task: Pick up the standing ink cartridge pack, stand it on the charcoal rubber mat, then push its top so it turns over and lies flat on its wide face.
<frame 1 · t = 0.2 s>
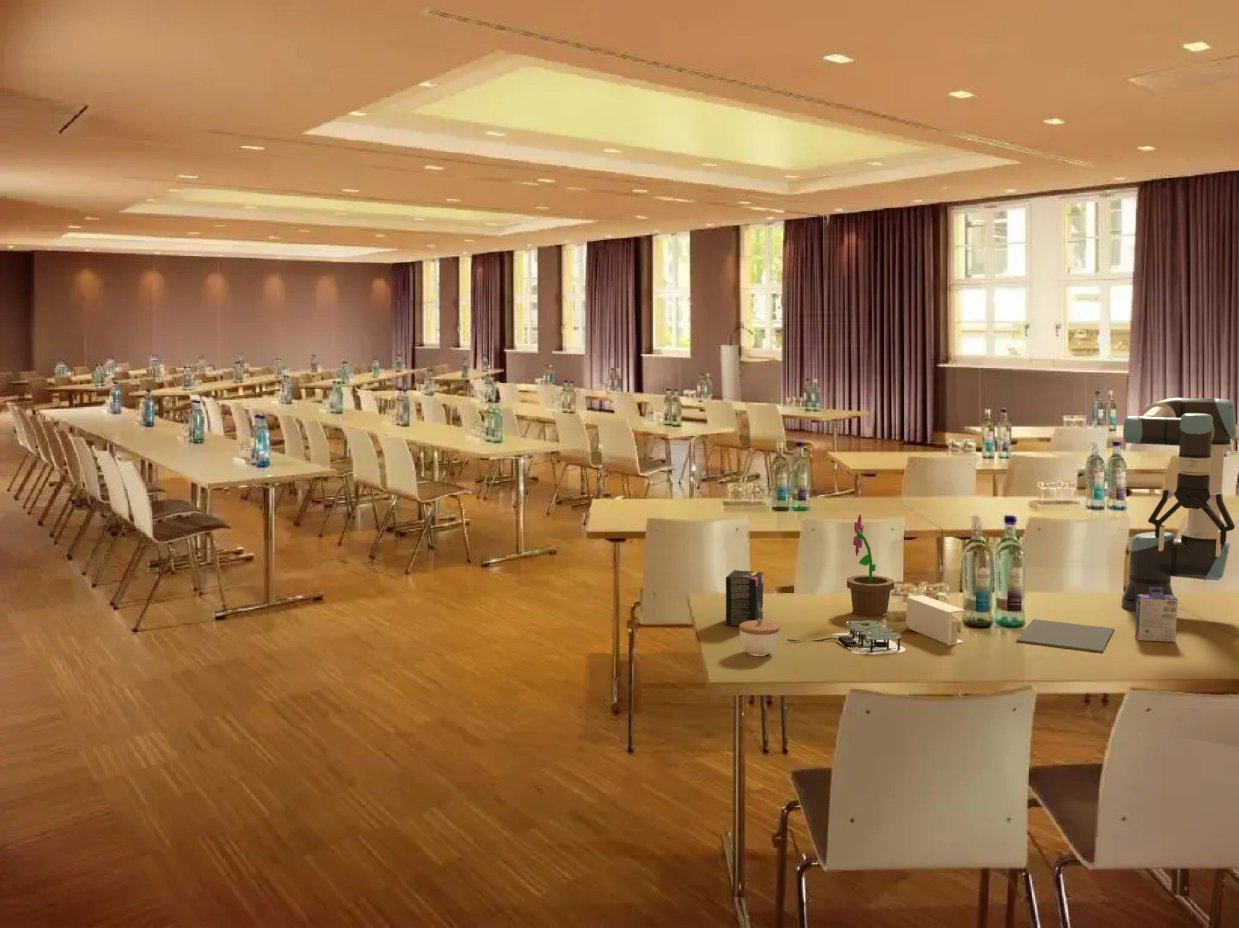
hand: (1189, 553, 301), 27 cm above the table, tool pointing down, fingers open, 13 cm apart
cigarette display: (933, 636, 324), on the table
neon sign: (843, 646, 315), on the table
mat: (1066, 636, 321), on the table
flowerpot: (869, 613, 348), on the table
ink cartridge box: (1154, 639, 318), on the table
tampon box: (744, 623, 338), on the table
lidded jar: (759, 654, 307), on the table
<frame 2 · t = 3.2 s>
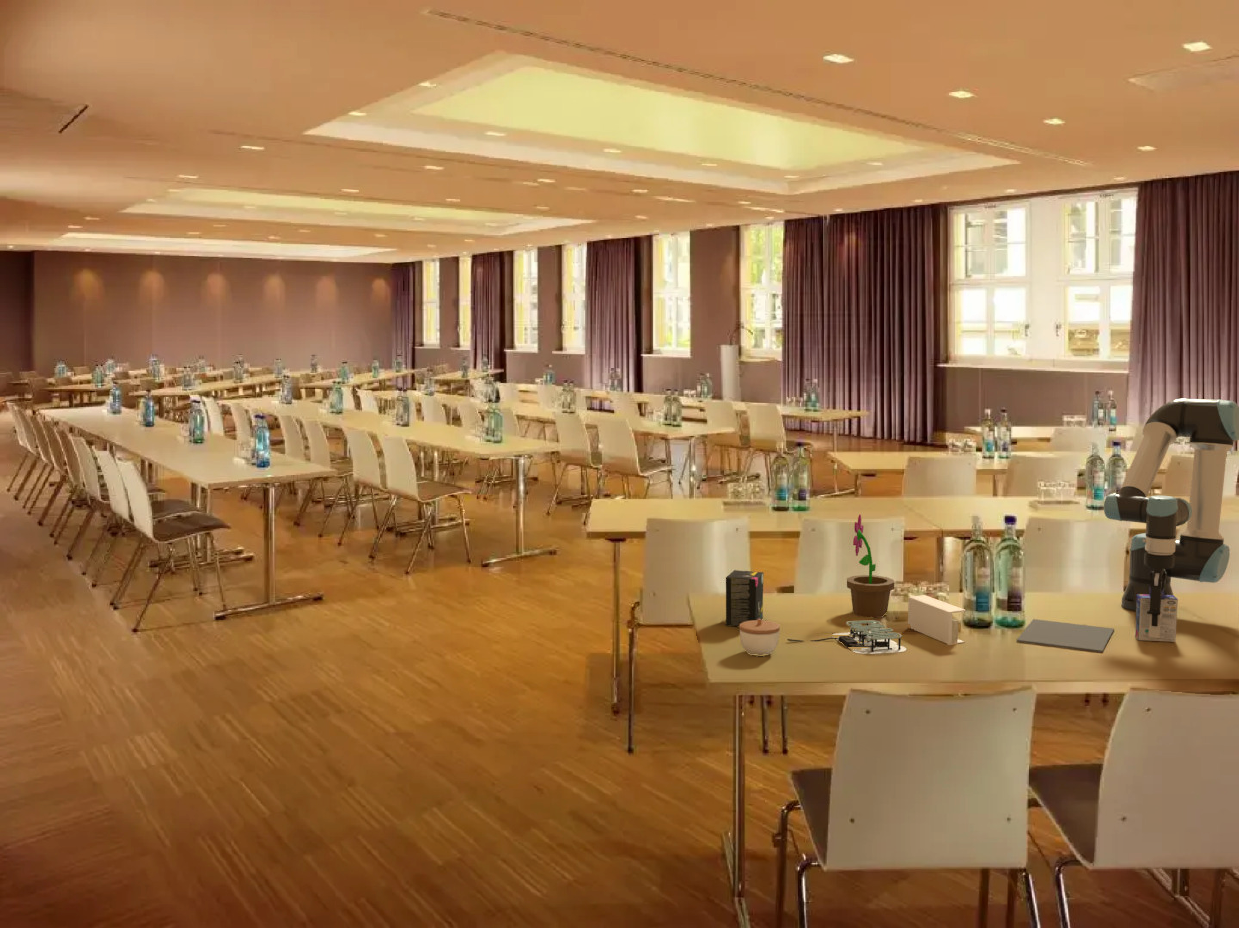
hand: (1155, 633, 318), 2 cm above the table, tool pointing down, fingers closed on ink cartridge box, 7 cm apart
ink cartridge box: (1154, 639, 318), on the table, touching gripper
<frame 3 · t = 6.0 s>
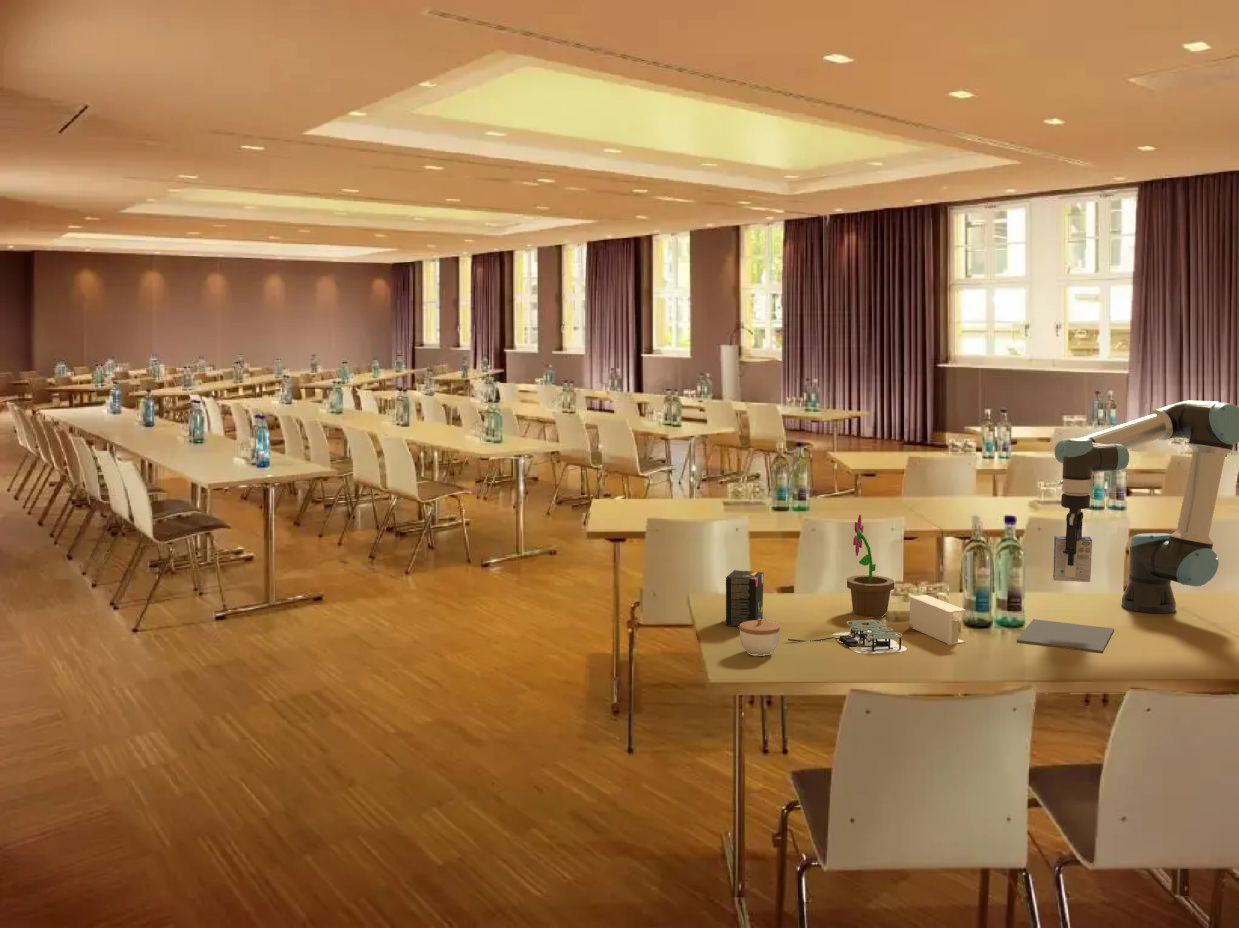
hand: (1072, 573, 325), 17 cm above the table, tool pointing down, fingers closed on ink cartridge box, 6 cm apart
ink cartridge box: (1071, 580, 325), point 15 cm above the table, touching gripper
when the fingers open (3 cm above the table, at t = 8.7 s): ink cartridge box stays where it is, resting on mat.
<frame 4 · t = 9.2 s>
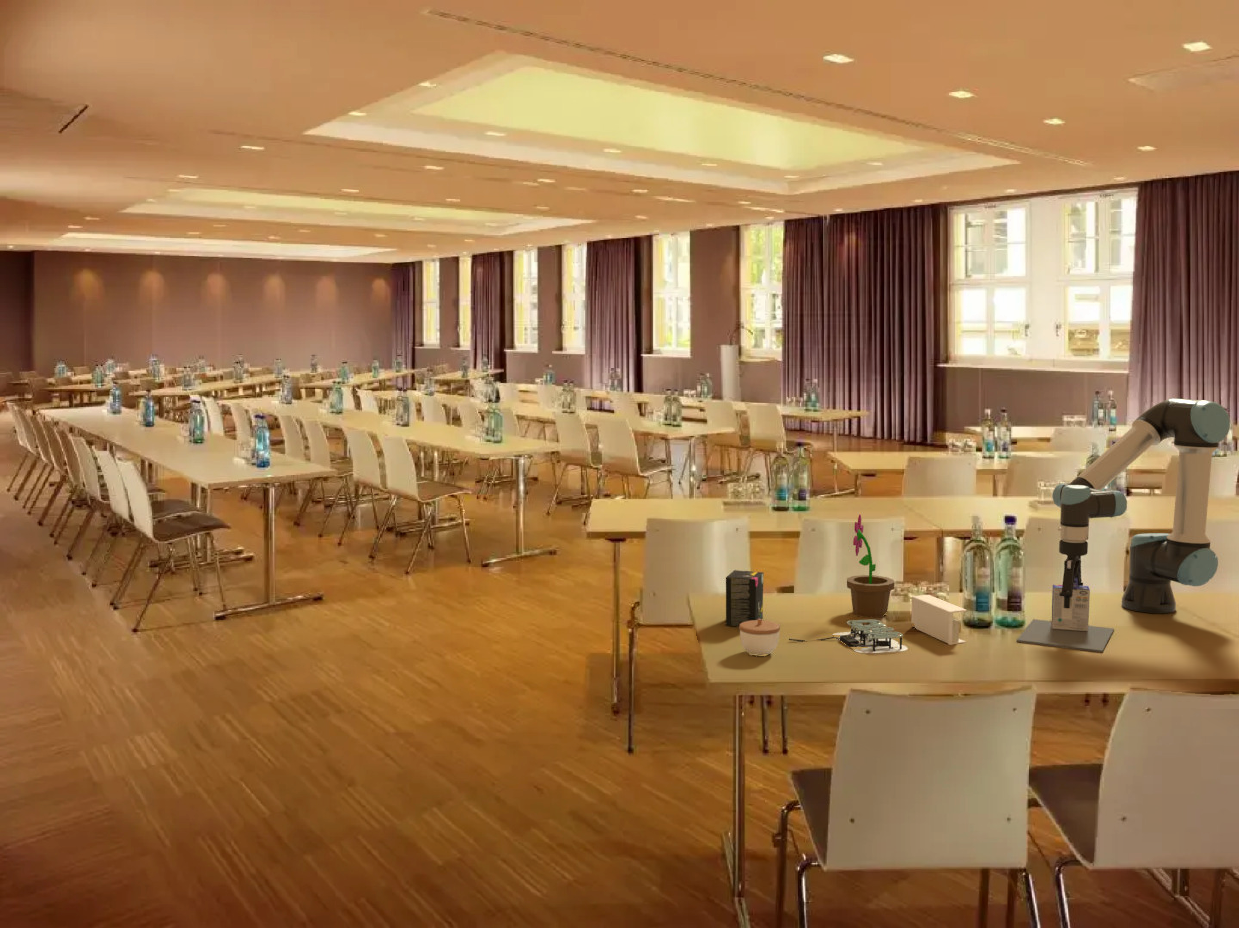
hand: (1070, 613, 326), 5 cm above the table, tool pointing down, fingers open, 13 cm apart
ink cartridge box: (1069, 629, 327), resting on mat
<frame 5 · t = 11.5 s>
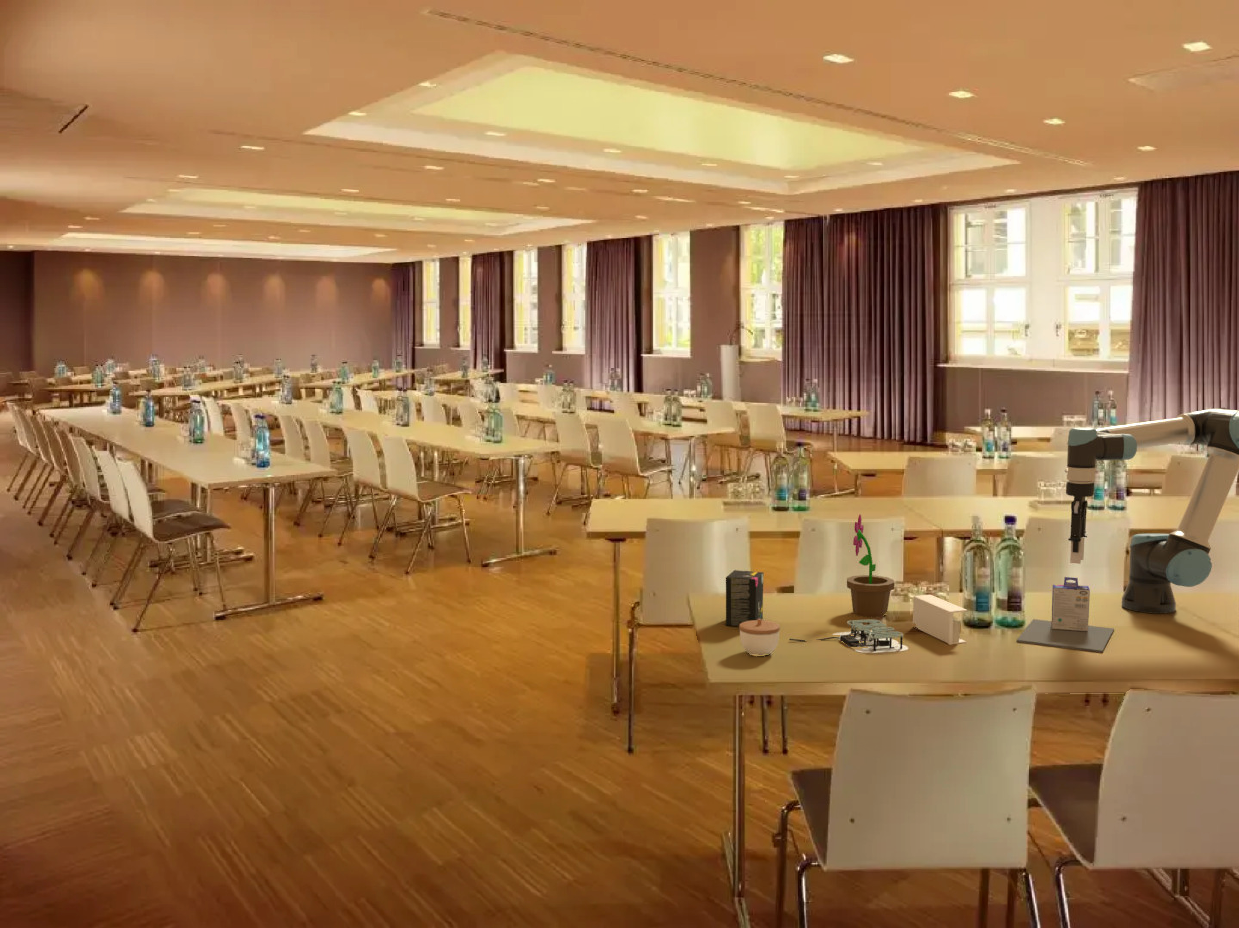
hand: (1076, 561, 332), 19 cm above the table, tool pointing down, fingers open, 5 cm apart
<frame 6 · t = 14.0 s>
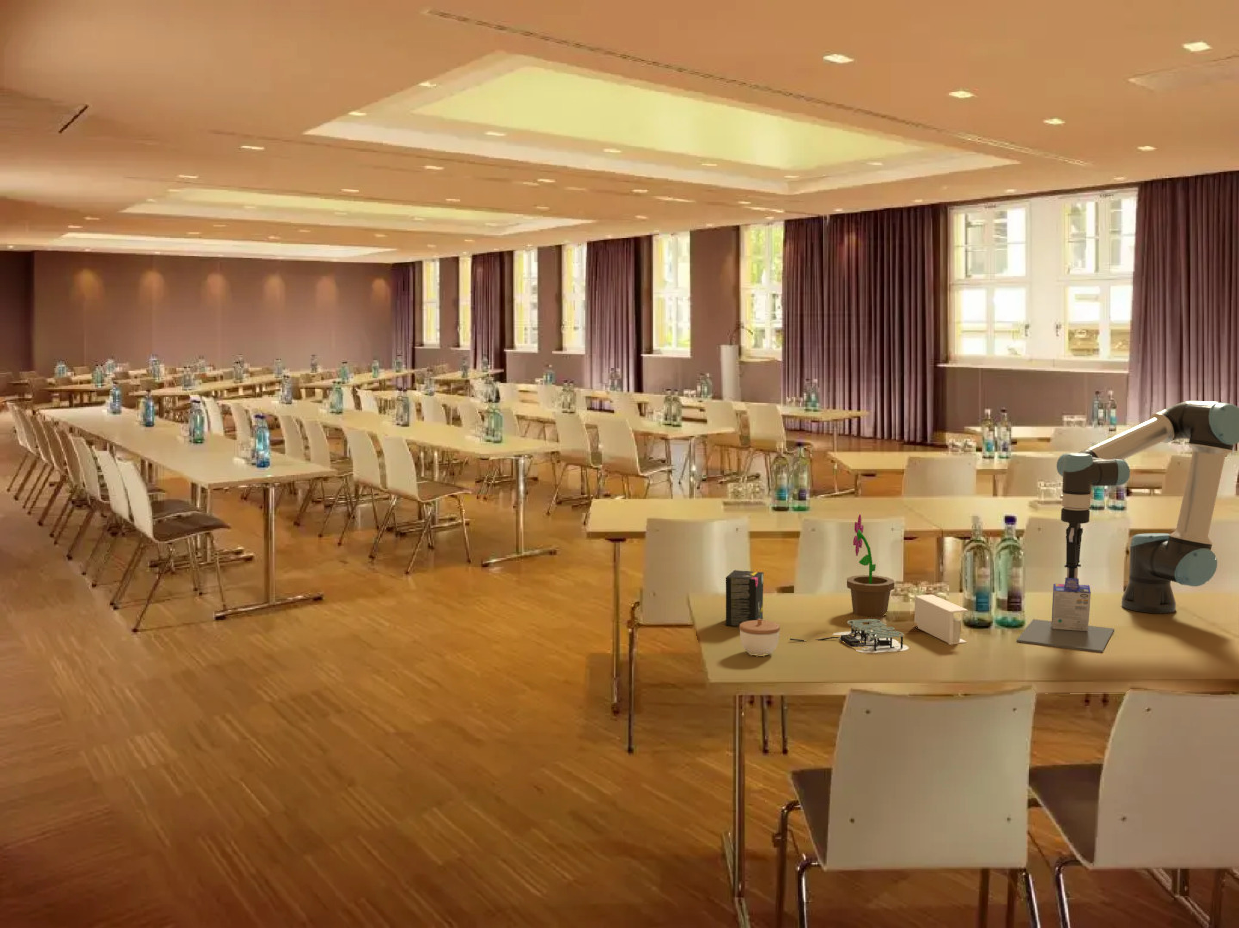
hand: (1071, 589, 327), 12 cm above the table, tool pointing down, fingers closed
ink cartridge box: (1069, 626, 327), point 1 cm above the table, touching gripper, mat
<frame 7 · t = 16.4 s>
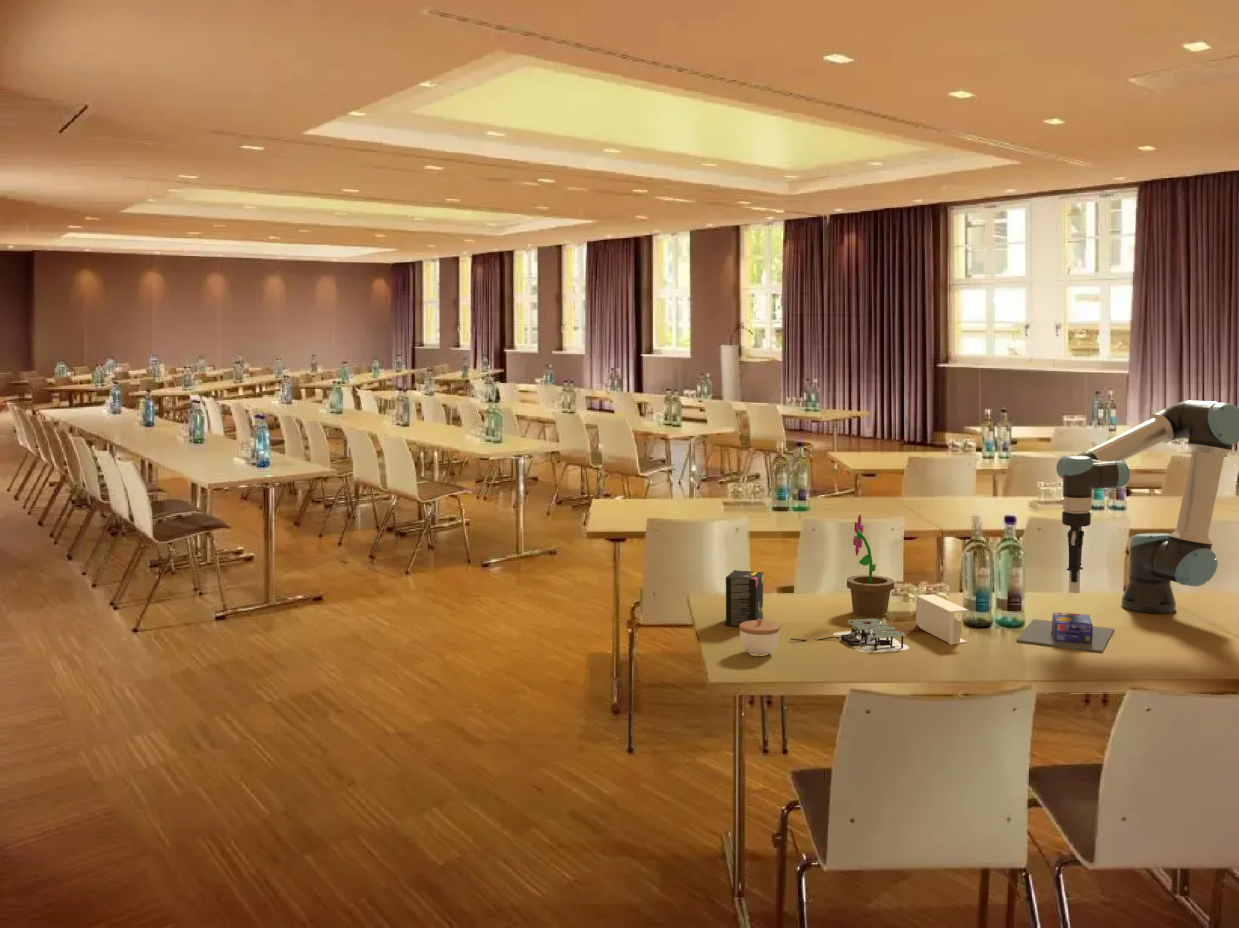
hand: (1074, 592, 327), 11 cm above the table, tool pointing down, fingers closed
ink cartridge box: (1070, 621, 324), point 3 cm above the table, touching mat
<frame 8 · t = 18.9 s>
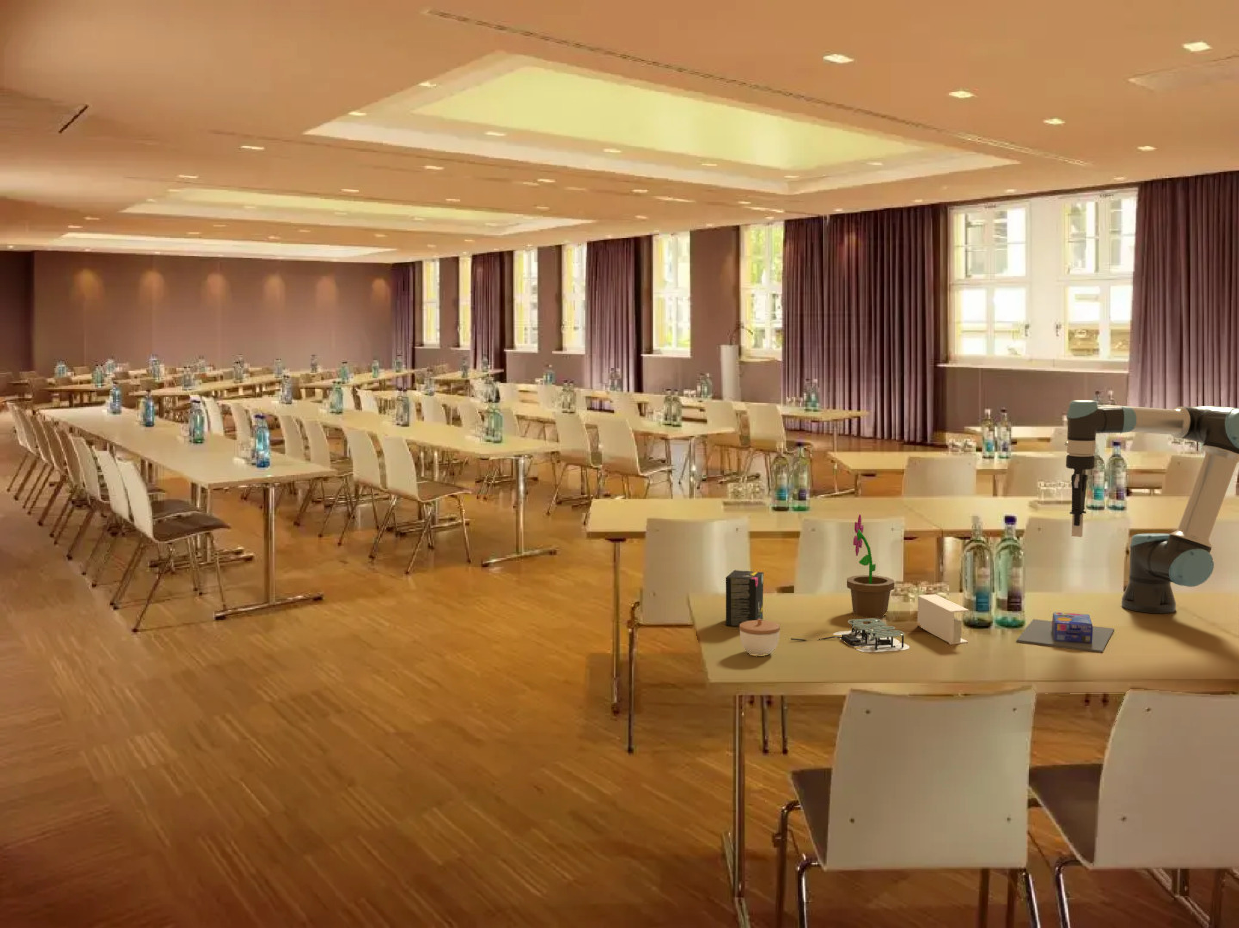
hand: (1076, 536, 329), 26 cm above the table, tool pointing down, fingers closed
at the end: ink cartridge box tilted 92°; ink cartridge box inside the target area (6.1 cm from its centre), point 3.4 cm above the table; the gripper is holding nothing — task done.
